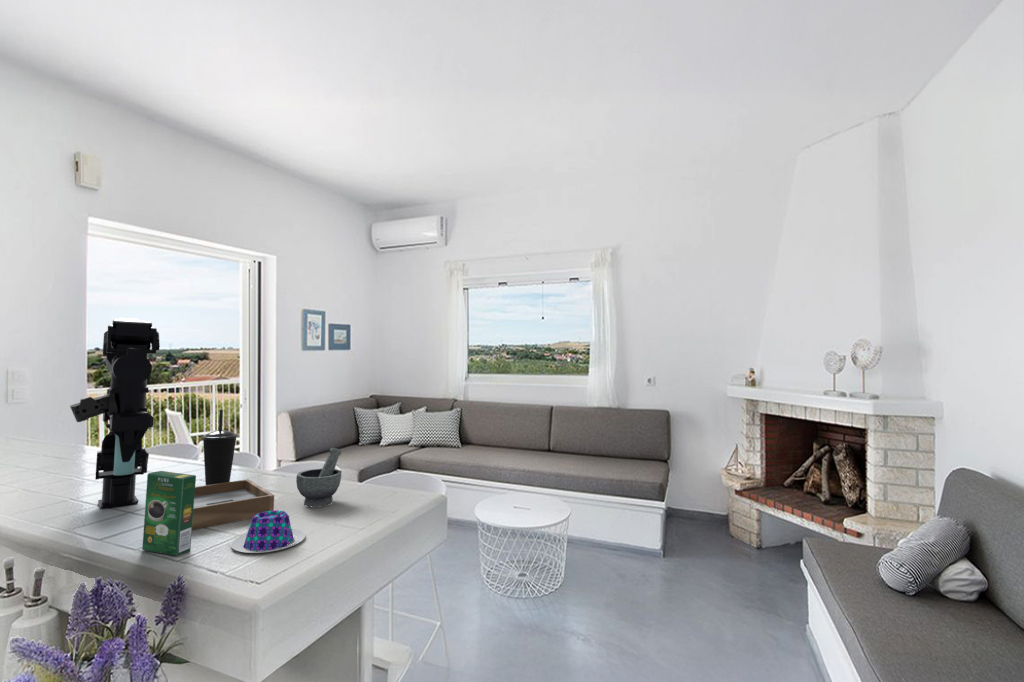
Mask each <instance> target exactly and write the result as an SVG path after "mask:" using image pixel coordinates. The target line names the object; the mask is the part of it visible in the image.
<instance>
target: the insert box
mask: <svg viewBox="0 0 1024 682" xmlns="http://www.w3.org/2000/svg"><path fill="white" fill-rule="evenodd" d="M274 508H275V494H273V493H272V492H270V491H268V490H266V489H265V488H263V487H262V486H260V485H258V484H257V483H255V482H253V481H252V480H250V479H249V478H247V479H242V480H241V479H239V480H233V481H230V482H225V483H218V484H211V485H206V484H205V485H198V486H195V496H194V509H193V522H192V531H193V530H198V529H199V530H200V529H203V528H209V527H215V526H220V525H223V524H229V523H233V522H234V523H235V522H239V521H245V520H250V519H251V520H252V518H253V517H254V516H255V515H256V514H258V513H262V512H265V511H273V510H274Z"/></svg>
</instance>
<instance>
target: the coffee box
mask: <svg viewBox="0 0 1024 682" xmlns="http://www.w3.org/2000/svg"><path fill="white" fill-rule="evenodd" d="M196 481H197V475H195V474H187V473H180V472H179V473H178V472H173V471H166V470H159V471H158V470H157V471H154V472H153V471H151V472H149V473H147V479H146V491H145V492H146V493H145V507H144V508H145V509H144V519H143V520H144V521H143V533H142V535H143V536H142V551H147V552H150V553H153V552H154V553H158V554H164V555H168V556H175V557H179V556H181V555H184V554H187V553H188V552H190V551H191V546H192V534H193V533H192V531H193V530H192V522H193V509H194V496H195V487H196Z"/></svg>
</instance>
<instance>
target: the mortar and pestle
mask: <svg viewBox="0 0 1024 682" xmlns="http://www.w3.org/2000/svg"><path fill="white" fill-rule="evenodd" d="M341 454H342V450H341V449H339V448H336V447H331V448H330V449H329V454H328V455H327V458H326V460H325V463H324V464H323V466H322V468H312V469H307V470H303V471H299V472H298V473H297V474H296V480H295V481H296V488H297V490H298V492H299V494H300V495H301V496H302V497H304V501H303V505H304V506H305V505H306V506H305V507H307V506H308V508H310V507H309V506H312V507H311V508H319V507H318V506H322V507H326V506H325V505H327V506H329V505H332V504H333V502H332V501H333V499H334V498H333V496H334V495H335V494H336V492H337V491H338V489H339V487H340V485H341V481H342V470H340V469H337V468H336V466H337V462H338V460H339V456H341ZM331 503H332V504H331ZM328 504H329V505H328Z"/></svg>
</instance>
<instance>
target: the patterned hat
mask: <svg viewBox="0 0 1024 682" xmlns="http://www.w3.org/2000/svg"><path fill="white" fill-rule="evenodd" d="M293 535H295V536H297V539H298V540H297V541H296V542H295V543H294V544H292V545H290V543H292V542H291V541H293V540H295V539H294V537H293ZM305 538H306V534H305V532H304V531H302V530H301V529H296V528H292V525H291V520H290V516H289V514H288V513H287V512H286V511H285V510H276V509H275V510H273V511H265V512H262V513H258V514H256V515H255V516H254V517H253V518H251V520H250V523H249V527H248V530H247V533H246V534H244V535H241V536H239V537H237V538H235V539H234V540H233V541H232V542H231V544H230V547H231V549H233V550H234V551H236V552H241V553H248V554H262V553H263V554H264V553H271V552H277V551H281V550H284V549H287V548H290V547H293V546H296V545H297V544H299V543H301V542H303V541H304V540H305ZM289 542H290V543H289ZM293 542H294V541H293ZM287 544H289V545H290V546H288V545H287ZM285 546H287V547H285ZM256 551H258V552H256Z"/></svg>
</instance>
